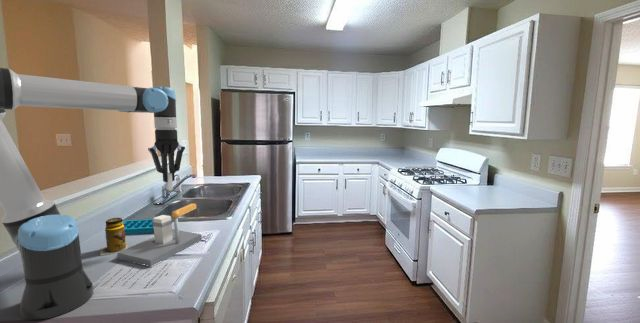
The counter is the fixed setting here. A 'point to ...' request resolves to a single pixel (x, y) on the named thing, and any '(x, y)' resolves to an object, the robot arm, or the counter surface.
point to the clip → (178, 213)
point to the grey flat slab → (158, 249)
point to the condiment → (114, 236)
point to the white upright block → (162, 229)
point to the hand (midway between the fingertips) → (169, 189)
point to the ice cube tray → (138, 226)
